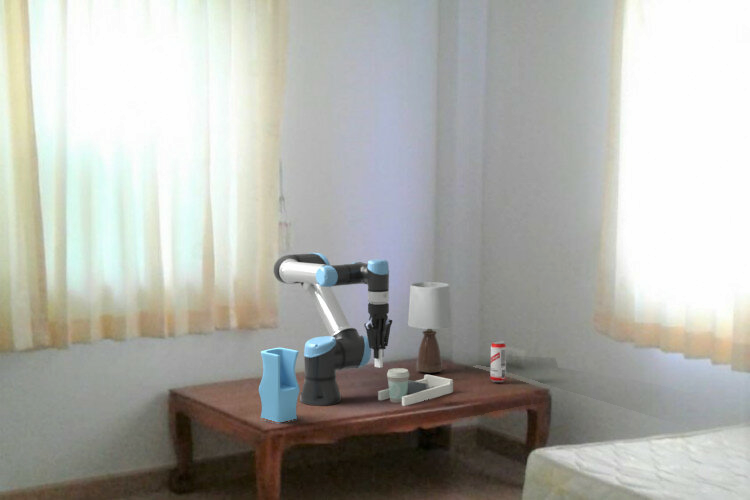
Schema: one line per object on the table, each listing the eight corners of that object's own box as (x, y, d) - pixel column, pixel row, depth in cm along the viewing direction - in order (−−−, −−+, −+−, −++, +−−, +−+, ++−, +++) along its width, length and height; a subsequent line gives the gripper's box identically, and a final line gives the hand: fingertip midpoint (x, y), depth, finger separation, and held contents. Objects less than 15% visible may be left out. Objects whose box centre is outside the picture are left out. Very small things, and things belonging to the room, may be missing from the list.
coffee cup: (383, 400, 342) (383, 368, 341) (403, 397, 345) (403, 366, 344) (392, 405, 334) (392, 373, 333) (413, 403, 338) (413, 371, 336)
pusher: (425, 397, 345) (426, 384, 344) (407, 393, 351) (407, 380, 350) (442, 392, 352) (442, 379, 352) (424, 388, 358) (424, 376, 358)
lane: (404, 407, 333) (404, 393, 332) (378, 400, 341) (378, 387, 341) (452, 392, 354) (453, 379, 353) (427, 386, 363) (427, 374, 362)
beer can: (498, 383, 368) (499, 344, 366) (487, 380, 372) (487, 342, 371) (508, 380, 372) (509, 342, 370) (497, 378, 376) (497, 340, 375)
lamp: (410, 364, 402) (410, 281, 398) (452, 365, 399) (452, 282, 395) (405, 374, 383) (405, 287, 380) (449, 375, 381) (450, 288, 377)
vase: (278, 428, 306) (277, 355, 304) (259, 423, 313) (258, 351, 310) (299, 422, 314) (299, 351, 311) (280, 416, 320) (279, 347, 318)
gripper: (373, 305, 321) (374, 371, 323) (398, 301, 330) (398, 365, 332) (358, 303, 326) (358, 368, 328) (382, 299, 335) (382, 362, 337)
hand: (378, 366), depth 330 cm, fingers closed
